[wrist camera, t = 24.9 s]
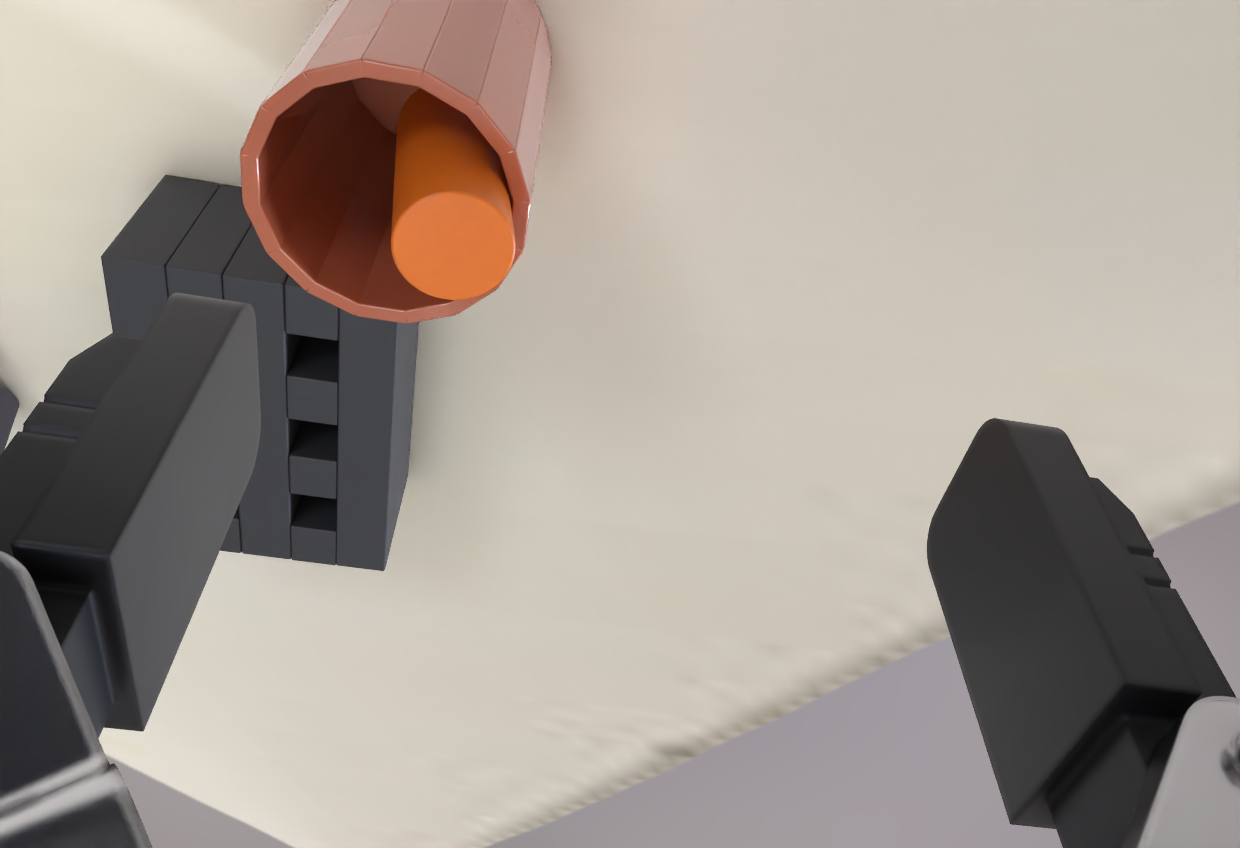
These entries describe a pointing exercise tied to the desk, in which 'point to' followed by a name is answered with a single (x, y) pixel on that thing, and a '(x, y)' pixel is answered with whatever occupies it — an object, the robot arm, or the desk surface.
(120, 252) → the holder
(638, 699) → the desk surface
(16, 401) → the clip-on lamp
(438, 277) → the orange cylinder rod
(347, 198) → the pen cup
